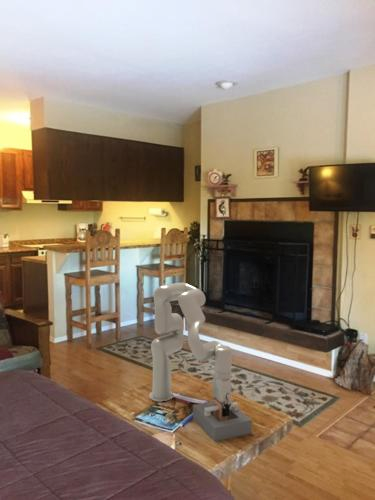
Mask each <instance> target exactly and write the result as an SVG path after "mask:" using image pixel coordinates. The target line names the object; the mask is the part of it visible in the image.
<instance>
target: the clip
mask: <svg viewBox="0 0 375 500" xmlns="http://www.w3.org/2000/svg"><path fill="white" fill-rule="evenodd" d="M213 401H214V400H213ZM226 404H227V402H225V405H226ZM217 405H218V406H219V407H220V409H219V410H216V411H214V414H213V416H214V417H215V418H216V419H217V420H218V421H219V422H220V421H225V420H228V416H226V417H223V416H222V408H223V403H222V402H220V401H219V400H217V399H215V401H214V406H217Z"/></svg>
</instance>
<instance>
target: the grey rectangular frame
mask: <svg viewBox="0 0 375 500" xmlns="http://www.w3.org/2000/svg"><path fill="white" fill-rule="evenodd" d="M226 400H227V399H225V401H226ZM219 409H220V407H219V406H218V405H217V406H214V400H213V401H210V402H209V401H208V402H204V403H203V402H202V403H199V404H198V403H196V404H193V405H192V418H193V419H194V421H195V422H196V423H197V424H198V425H199V426H200V427H201V429H202V430H204V432H205V433H206V434H207V435H208V436H209V438H210V439H212V441H213V442H219V441H223V440H227V439H232V438H236V437H241V436H245V435H249V434H250V435H251V434H252V426H253V425H252V419H250V417H249V416H248V415H247V414H245V413H244V412H243V411H241V410H240V409H239V402H238V401H234V402H232V404H231V406H230V408H229V416H228V420H225V421H220V422H219V420H217V419H216V418H215V417H214V416H213V414H214V411H216V410H219Z"/></svg>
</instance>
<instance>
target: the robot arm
mask: <svg viewBox="0 0 375 500" xmlns="http://www.w3.org/2000/svg"><path fill="white" fill-rule="evenodd" d="M174 301H177V302H178V305H179V308H180V309H181V312H182V314H183V315H184V318H185V320H186V322H187V325H188V331H187V342H188V343H187V344H188V346H189V349H190V350H191V351H190V352H192V355H193V357H194V359H195V360H197V361H198V362H201V363H204V362H207V361H209V360H213V359H214V364H213V365H214V370H213V371H214V372H213V379H212V385H211V386H212V387H211V395H212V396H213V401H215V399H217V400H219V401H220V402H222V403H223V408H222V416H223V417H226V416H229V408H230V406H231V404H232V403H233V402H232V382H231V381H232V380H231V379H232V363H233V361H232V359H233V357H232V356H233V349H232V348H231V347H230V346H229V345H225V344H222V343H220V342H219V341H216V340H211V341H208V342H205V343H202V341H201V339H200V335H199V331H200V328H201V326H202V325H203V324H205V322H206V316H205V314H204V312H203V310H202V308H201V307H202V306H204V305H205V304H206V295H205V294H204V292H203V291H202V290H201V289H199V288H197V287H195V286H193V285H192V284H188V283H186V282H175V283H169V284H163V285H160V286H158V287H156V289H155V290H154V293H153V303H154V331H155V333H156V334H157V335H161V336H158V337H156V338H155V339H153V340H152V341H151V344H150V350H151V355H152V388H151V390H152V391H150V392H149V394H148V395H149V396H148V397H149V399H150V400H151V401H154V402H158V403H159V402H160V403H163V402H162V401H166V402H168V401H167V400H169V401H171V400H173V399H174V395H175V394H174V392H172V361H171V358H170V357H169V355H171V354H174V353H177V352H179V351H181V349H182V348H183V345H184V329H185V328H184V320H183V318H182V316H181V315H180V314H179V313H175V312H173V311H172V305H171V303H170V302H174ZM172 312H173V313H172ZM172 398H173V399H172ZM170 399H171V400H170ZM225 399H227V400H226V401H225ZM225 402H227V404H226V405H225Z"/></svg>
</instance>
